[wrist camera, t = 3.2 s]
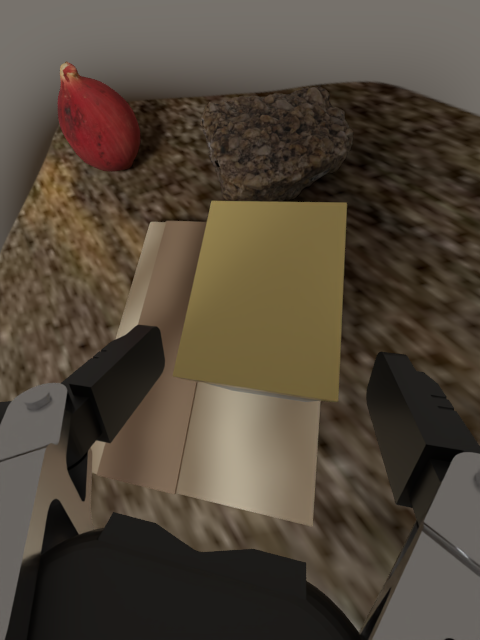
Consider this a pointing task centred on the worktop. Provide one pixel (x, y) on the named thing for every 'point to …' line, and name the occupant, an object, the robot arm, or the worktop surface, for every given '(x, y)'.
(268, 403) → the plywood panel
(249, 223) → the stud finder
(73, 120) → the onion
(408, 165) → the worktop surface
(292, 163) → the concrete sample
